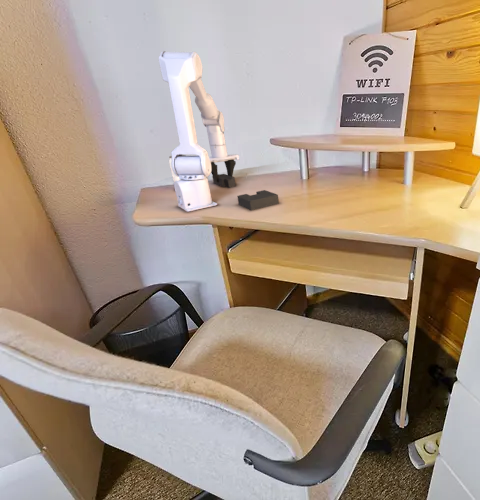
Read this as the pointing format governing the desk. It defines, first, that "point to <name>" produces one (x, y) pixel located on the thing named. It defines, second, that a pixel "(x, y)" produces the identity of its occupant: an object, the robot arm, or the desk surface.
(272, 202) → the notch pad
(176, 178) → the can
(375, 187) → the desk surface
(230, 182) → the tab pad
